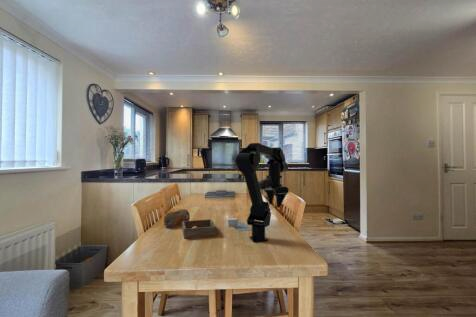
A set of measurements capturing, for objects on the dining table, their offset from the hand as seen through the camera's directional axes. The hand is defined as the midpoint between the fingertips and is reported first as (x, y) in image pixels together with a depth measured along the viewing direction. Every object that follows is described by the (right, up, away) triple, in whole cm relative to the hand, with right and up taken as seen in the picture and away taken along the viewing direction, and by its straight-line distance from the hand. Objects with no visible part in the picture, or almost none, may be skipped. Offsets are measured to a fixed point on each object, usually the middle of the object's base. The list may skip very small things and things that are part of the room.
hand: (274, 205), depth 122 cm
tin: (-49, -13, +8) cm, 51 cm away
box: (-36, -12, -6) cm, 38 cm away
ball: (-37, -11, -8) cm, 40 cm away
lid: (-21, -13, +7) cm, 25 cm away
